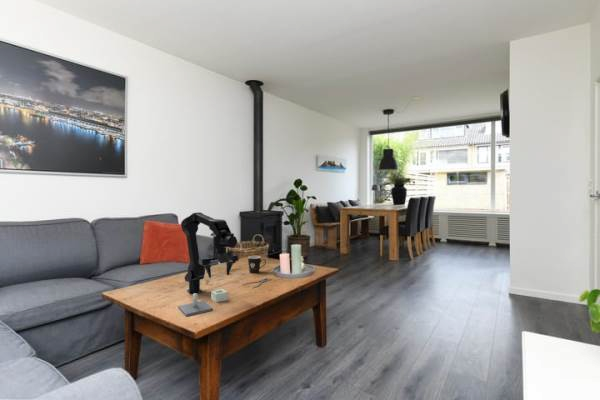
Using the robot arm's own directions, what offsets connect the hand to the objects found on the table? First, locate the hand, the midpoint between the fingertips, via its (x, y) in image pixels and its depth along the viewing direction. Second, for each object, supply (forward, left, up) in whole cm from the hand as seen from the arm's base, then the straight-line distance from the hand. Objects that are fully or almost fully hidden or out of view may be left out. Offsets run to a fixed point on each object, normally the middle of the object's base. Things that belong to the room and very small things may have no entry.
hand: (219, 276), depth 158 cm
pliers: (-15, +29, -12) cm, 35 cm away
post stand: (+6, -14, -12) cm, 19 cm away
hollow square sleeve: (0, 0, -12) cm, 12 cm away
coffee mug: (-36, +40, -12) cm, 55 cm away
